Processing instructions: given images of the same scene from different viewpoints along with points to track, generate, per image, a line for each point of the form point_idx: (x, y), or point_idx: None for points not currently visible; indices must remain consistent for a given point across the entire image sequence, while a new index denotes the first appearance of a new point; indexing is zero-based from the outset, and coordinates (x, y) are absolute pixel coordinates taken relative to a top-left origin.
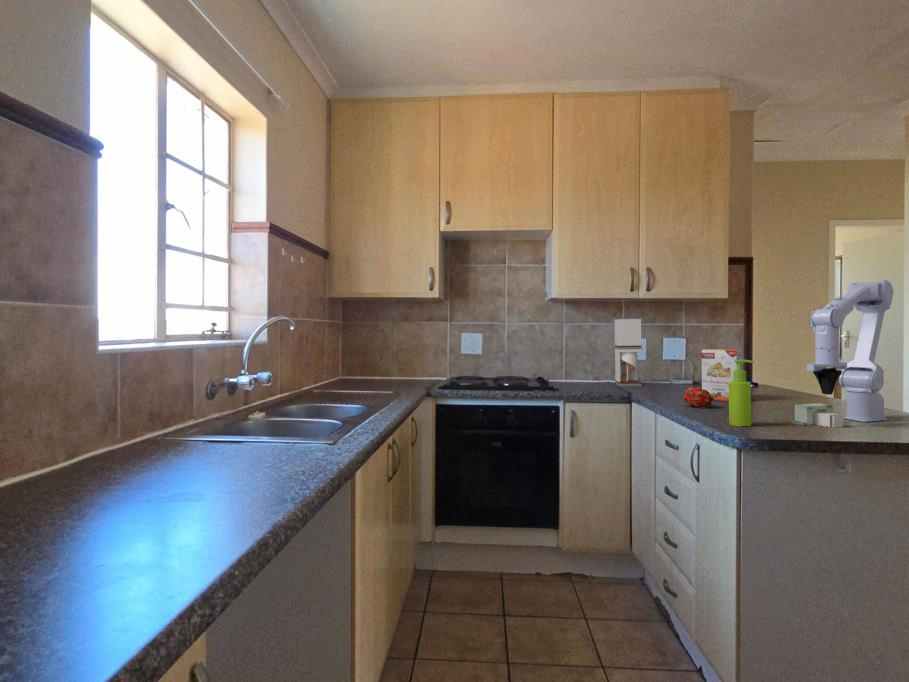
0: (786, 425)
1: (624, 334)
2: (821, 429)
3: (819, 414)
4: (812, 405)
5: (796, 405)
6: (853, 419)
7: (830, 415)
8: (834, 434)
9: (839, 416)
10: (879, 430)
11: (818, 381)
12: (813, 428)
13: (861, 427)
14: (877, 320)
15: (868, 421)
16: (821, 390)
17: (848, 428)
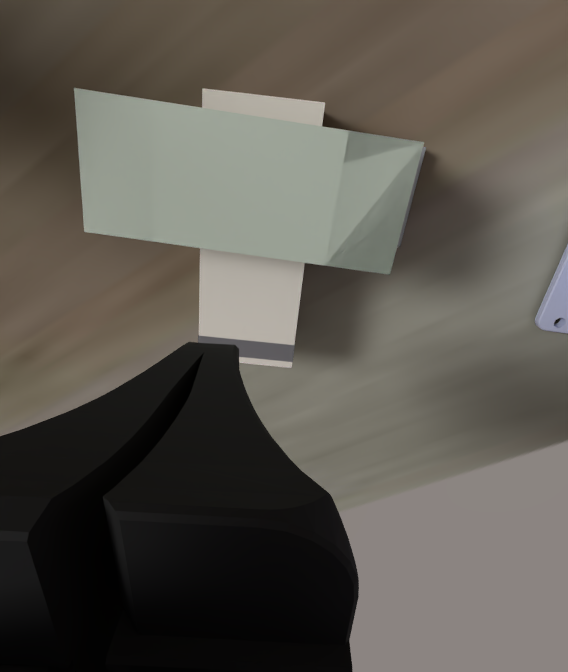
0: (7, 139)
1: None
2: (107, 322)
3: (201, 263)
4: (196, 211)
5: (78, 111)
6: (562, 260)
7: (199, 340)
8: (56, 413)
9: (253, 361)
10: (337, 451)
11: (85, 406)
12: (90, 286)
13: (350, 383)
14: None
15: (559, 330)
16: (171, 354)
17: (264, 369)
